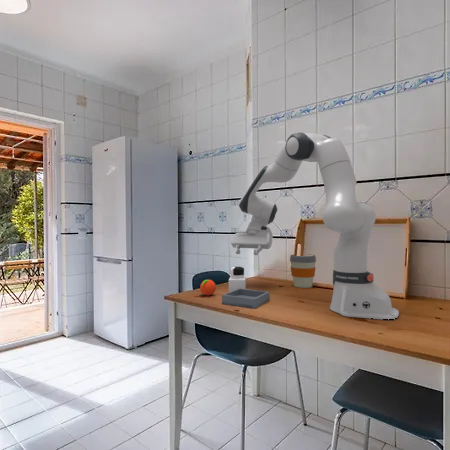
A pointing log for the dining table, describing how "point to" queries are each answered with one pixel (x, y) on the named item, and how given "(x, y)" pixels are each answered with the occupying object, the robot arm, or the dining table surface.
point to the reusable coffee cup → (303, 270)
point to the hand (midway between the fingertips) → (246, 253)
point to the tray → (245, 298)
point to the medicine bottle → (237, 279)
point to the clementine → (207, 287)
